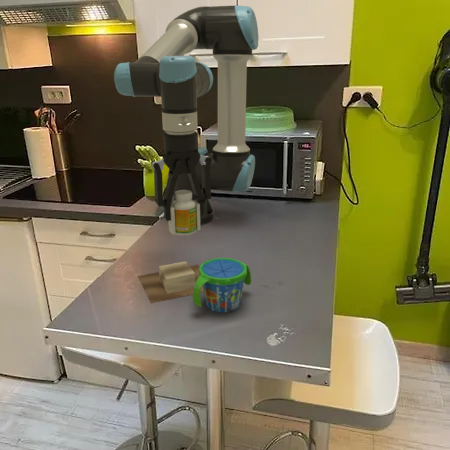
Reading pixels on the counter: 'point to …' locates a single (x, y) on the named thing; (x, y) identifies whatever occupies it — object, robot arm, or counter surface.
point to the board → (157, 290)
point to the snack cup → (221, 283)
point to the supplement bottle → (184, 213)
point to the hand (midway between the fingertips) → (184, 230)
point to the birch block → (177, 277)
